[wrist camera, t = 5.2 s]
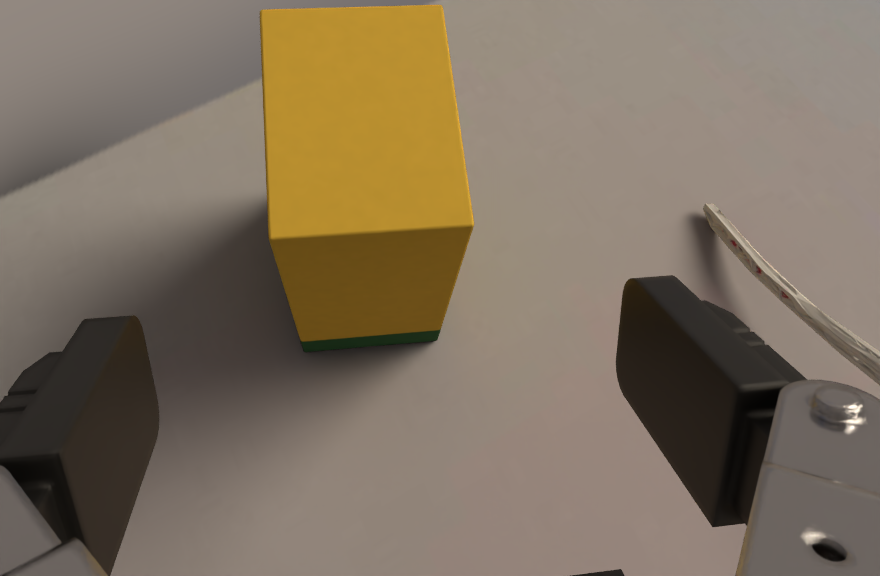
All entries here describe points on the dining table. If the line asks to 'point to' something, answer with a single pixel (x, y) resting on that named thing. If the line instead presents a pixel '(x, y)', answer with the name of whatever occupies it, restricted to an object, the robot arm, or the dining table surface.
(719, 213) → the sunglasses
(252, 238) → the dining table surface
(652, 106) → the dining table surface
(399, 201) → the sponge
